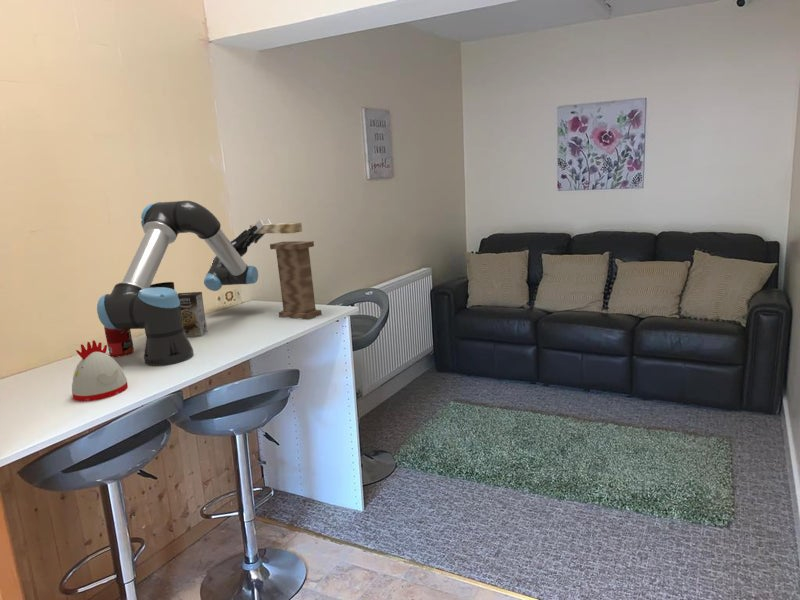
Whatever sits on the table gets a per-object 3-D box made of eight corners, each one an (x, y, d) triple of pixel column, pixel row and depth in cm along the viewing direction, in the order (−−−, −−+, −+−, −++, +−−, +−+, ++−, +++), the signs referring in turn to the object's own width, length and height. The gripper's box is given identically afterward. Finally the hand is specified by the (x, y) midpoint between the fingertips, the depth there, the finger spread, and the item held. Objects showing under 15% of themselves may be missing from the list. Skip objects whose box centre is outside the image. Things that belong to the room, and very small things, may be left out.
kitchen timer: (64, 396, 163) (53, 345, 160) (111, 380, 174) (101, 332, 171) (89, 404, 155) (78, 350, 152) (137, 387, 166) (128, 336, 163)
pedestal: (279, 317, 240) (269, 244, 233) (292, 312, 246) (283, 241, 240) (308, 319, 231) (299, 244, 225) (321, 314, 238) (313, 241, 231)
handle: (248, 234, 240) (247, 225, 239) (259, 232, 245) (258, 223, 244) (292, 233, 227) (290, 224, 226) (302, 231, 232) (301, 222, 231)
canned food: (128, 356, 199) (122, 325, 197) (105, 357, 199) (99, 326, 197) (138, 349, 207) (132, 319, 204) (116, 351, 207) (110, 321, 205)
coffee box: (178, 338, 218) (171, 296, 215) (185, 333, 225) (178, 292, 221) (201, 336, 218) (195, 294, 214) (208, 332, 224) (202, 290, 221)
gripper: (216, 245, 244) (246, 216, 231) (245, 240, 258) (276, 212, 244) (224, 261, 243) (255, 232, 230) (253, 254, 257) (284, 227, 244)
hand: (265, 222), depth 237 cm, fingers closed on handle, 3 cm apart
